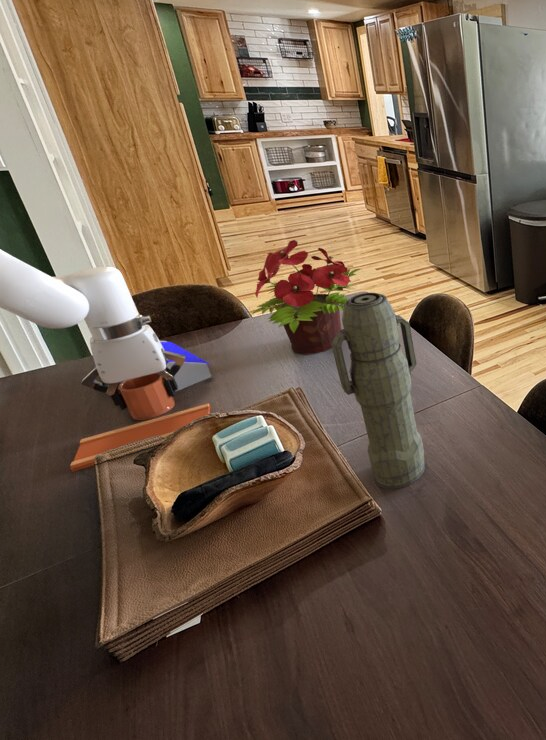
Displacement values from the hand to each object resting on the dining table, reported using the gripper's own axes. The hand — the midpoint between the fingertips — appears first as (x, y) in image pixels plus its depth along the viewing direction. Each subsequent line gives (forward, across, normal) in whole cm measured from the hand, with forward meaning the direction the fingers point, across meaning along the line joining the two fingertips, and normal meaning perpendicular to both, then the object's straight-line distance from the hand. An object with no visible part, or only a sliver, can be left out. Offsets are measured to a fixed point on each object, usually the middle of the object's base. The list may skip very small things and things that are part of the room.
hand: (149, 399), depth 103 cm
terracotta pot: (+3, 0, 0) cm, 3 cm away
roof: (+3, 0, -16) cm, 17 cm away
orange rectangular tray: (+3, 0, +10) cm, 11 cm away
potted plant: (+3, -34, -10) cm, 36 cm away
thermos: (+3, -39, +50) cm, 64 cm away
